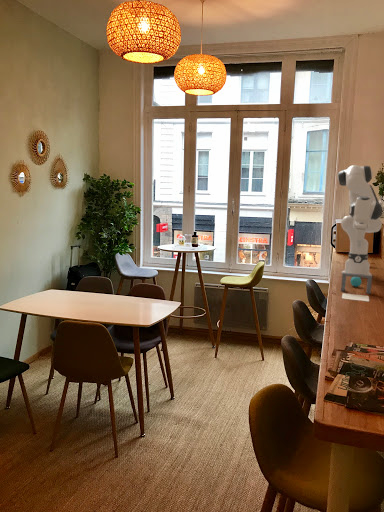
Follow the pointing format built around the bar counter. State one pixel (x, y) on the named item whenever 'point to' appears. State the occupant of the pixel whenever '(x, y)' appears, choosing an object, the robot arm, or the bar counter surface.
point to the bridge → (357, 276)
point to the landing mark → (355, 297)
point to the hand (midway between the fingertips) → (358, 248)
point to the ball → (356, 281)
